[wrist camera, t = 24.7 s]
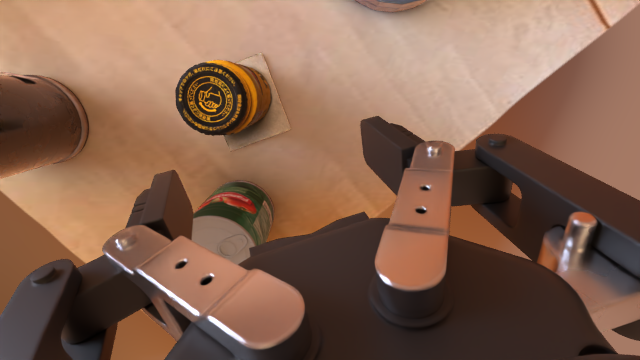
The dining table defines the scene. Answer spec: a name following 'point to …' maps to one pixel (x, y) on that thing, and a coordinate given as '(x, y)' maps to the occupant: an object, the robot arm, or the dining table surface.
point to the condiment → (232, 101)
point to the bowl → (391, 4)
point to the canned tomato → (233, 220)
